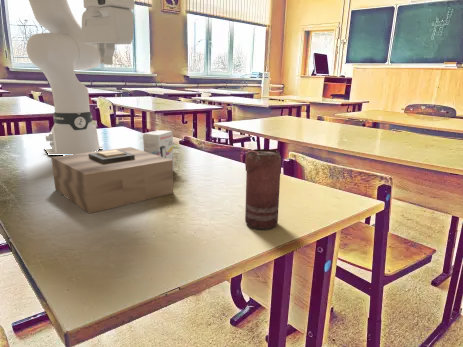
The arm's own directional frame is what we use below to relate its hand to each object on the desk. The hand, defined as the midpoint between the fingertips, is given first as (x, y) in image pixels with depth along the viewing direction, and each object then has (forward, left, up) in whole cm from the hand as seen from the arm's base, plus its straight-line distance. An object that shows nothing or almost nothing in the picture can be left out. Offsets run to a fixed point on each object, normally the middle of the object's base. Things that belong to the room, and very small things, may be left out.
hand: (106, 64), depth 86 cm
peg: (+8, -4, -29) cm, 30 cm away
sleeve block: (+8, -4, -29) cm, 31 cm away
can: (+44, +8, -29) cm, 54 cm away
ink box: (+1, +13, -29) cm, 32 cm away
